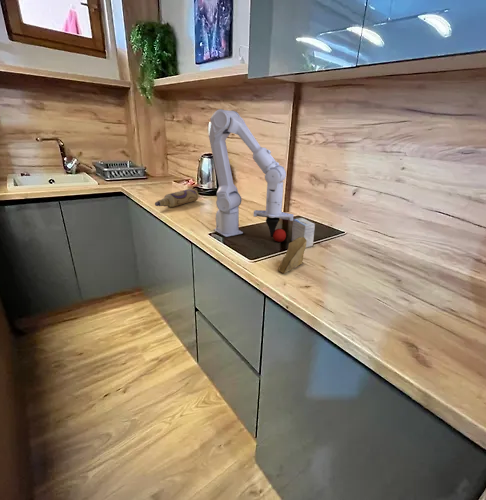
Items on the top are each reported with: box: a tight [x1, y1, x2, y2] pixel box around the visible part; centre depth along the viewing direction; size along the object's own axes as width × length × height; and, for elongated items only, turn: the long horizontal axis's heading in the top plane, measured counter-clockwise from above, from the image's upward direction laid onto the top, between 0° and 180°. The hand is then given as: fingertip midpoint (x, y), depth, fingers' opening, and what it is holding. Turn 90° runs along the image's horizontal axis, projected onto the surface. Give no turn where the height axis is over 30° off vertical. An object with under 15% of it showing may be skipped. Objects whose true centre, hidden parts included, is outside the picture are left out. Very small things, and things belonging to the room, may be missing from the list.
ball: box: [272, 228, 287, 243], centre depth 113 cm, size 5×5×5 cm
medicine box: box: [291, 217, 316, 248], centre depth 111 cm, size 8×4×9 cm, turn 29°
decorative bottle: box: [154, 188, 200, 208], centre depth 152 cm, size 26×8×7 cm, turn 149°
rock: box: [277, 237, 307, 274], centre depth 93 cm, size 11×9×10 cm
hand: (272, 236), depth 114 cm, fingers closed, pressing on ball
